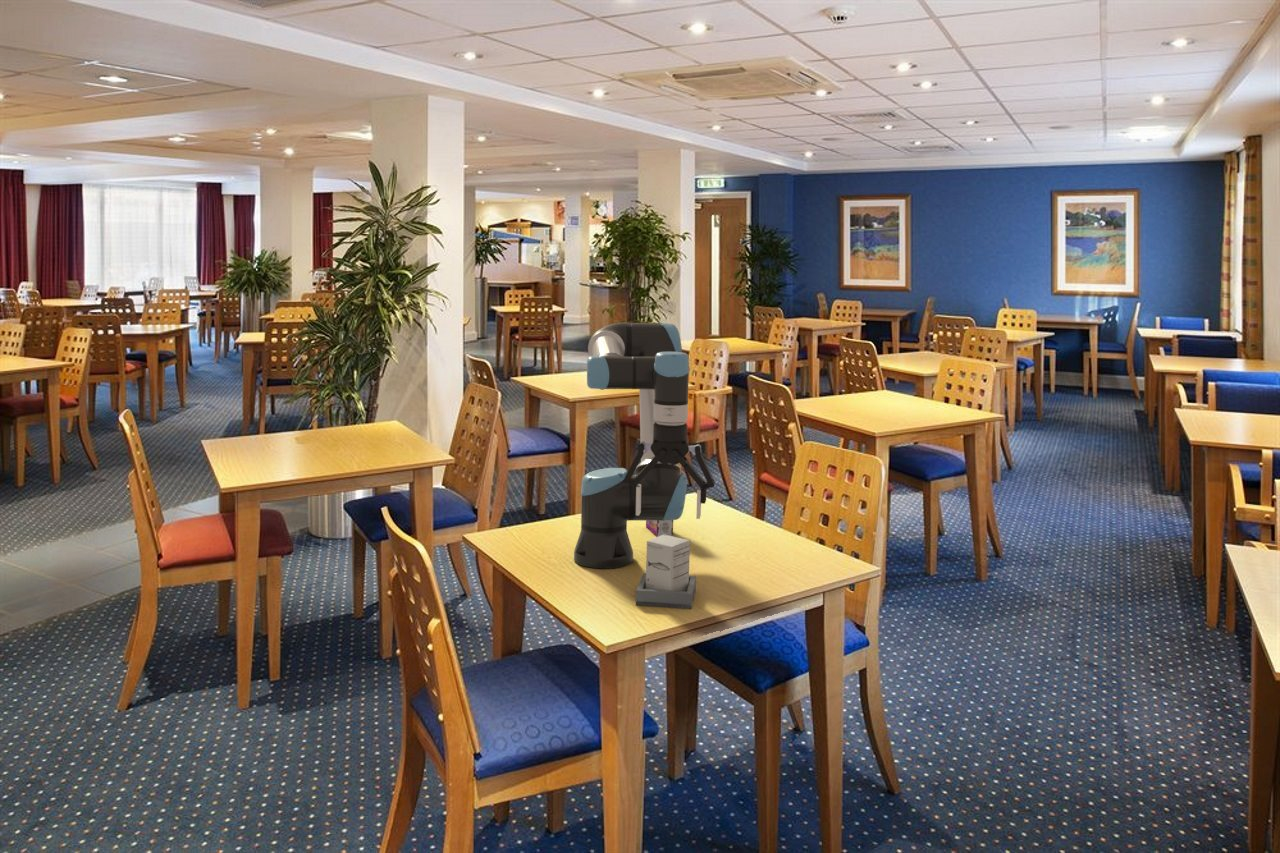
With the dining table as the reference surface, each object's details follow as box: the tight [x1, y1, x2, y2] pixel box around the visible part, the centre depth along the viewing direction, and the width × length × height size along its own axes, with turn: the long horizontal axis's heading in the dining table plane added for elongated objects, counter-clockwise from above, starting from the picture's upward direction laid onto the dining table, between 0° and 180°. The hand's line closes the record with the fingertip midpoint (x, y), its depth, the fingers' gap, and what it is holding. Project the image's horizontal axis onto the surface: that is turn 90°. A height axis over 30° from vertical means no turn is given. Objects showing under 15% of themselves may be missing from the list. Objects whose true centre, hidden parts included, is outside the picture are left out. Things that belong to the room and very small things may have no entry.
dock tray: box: [635, 572, 697, 610], centre depth 214 cm, size 12×12×4 cm
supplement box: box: [645, 535, 691, 592], centre depth 213 cm, size 7×7×13 cm
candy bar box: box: [645, 520, 674, 537], centre depth 266 cm, size 11×5×16 cm, turn 17°
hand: (668, 515), depth 211 cm, fingers open, 13 cm apart
